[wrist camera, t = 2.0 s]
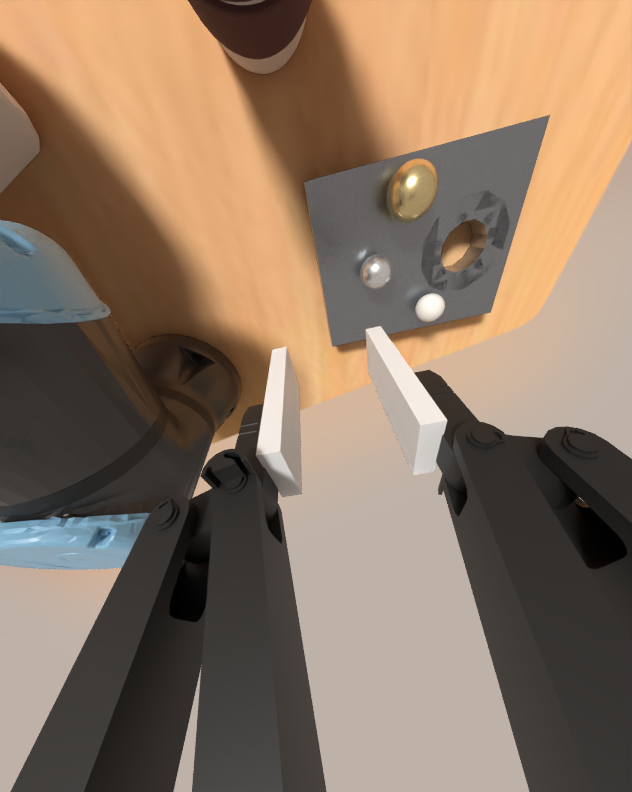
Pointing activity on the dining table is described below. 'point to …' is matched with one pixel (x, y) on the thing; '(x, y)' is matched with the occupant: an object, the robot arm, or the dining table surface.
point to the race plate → (421, 231)
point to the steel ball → (376, 271)
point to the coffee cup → (255, 29)
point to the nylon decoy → (430, 307)
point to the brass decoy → (412, 190)
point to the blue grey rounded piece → (15, 139)
